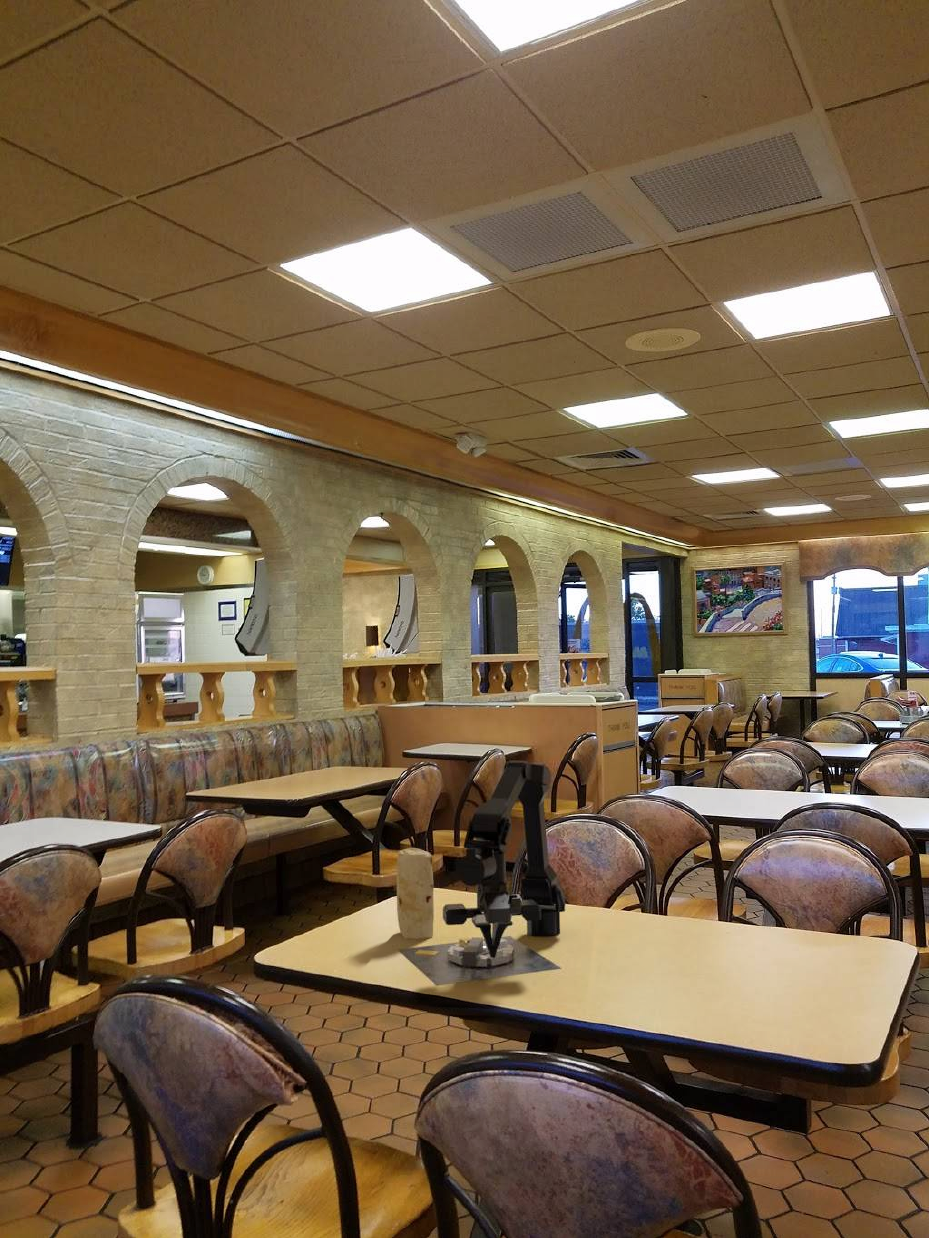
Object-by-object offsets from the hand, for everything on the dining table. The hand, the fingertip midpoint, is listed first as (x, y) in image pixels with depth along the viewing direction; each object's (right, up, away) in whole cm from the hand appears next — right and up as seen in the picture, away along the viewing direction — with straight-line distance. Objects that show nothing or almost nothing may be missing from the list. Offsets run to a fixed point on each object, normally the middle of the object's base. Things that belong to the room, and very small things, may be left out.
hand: (492, 956), depth 190 cm
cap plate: (-3, -5, +10) cm, 11 cm away
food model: (-17, -6, +29) cm, 34 cm away
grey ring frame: (-3, -3, +6) cm, 8 cm away
